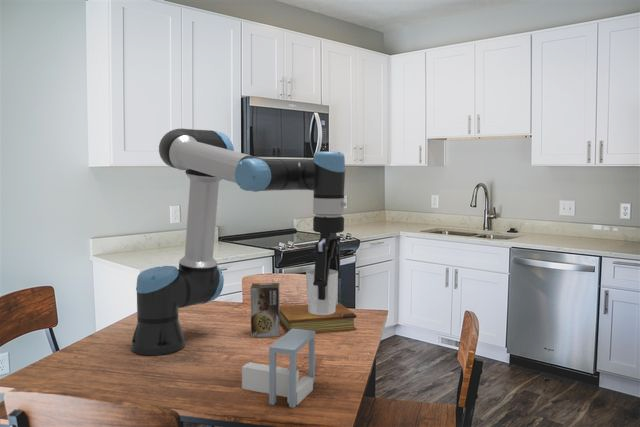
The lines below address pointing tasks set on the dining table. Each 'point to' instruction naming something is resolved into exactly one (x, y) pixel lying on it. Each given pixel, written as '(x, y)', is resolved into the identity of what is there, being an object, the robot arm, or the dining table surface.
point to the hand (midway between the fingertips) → (327, 308)
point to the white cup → (313, 291)
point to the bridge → (291, 360)
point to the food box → (265, 310)
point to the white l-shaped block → (258, 380)
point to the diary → (316, 319)
